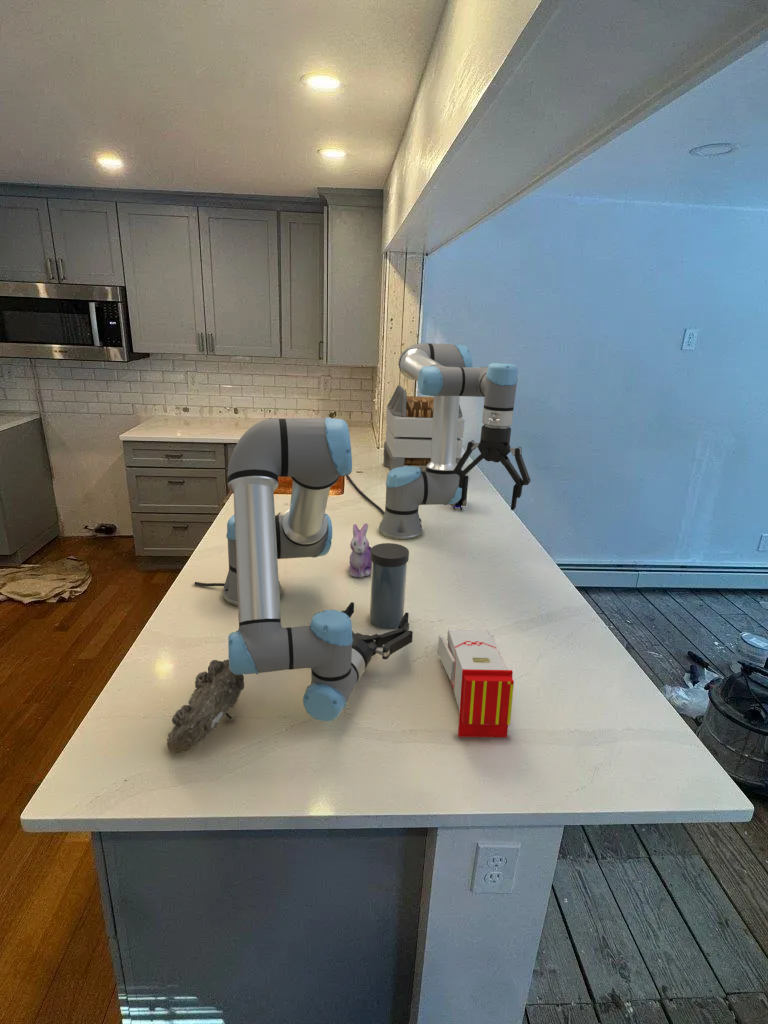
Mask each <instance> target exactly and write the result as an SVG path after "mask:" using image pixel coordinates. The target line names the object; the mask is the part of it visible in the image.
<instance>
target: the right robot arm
mask: <svg viewBox="0 0 768 1024" xmlns="http://www.w3.org/2000/svg"><path fill="white" fill-rule="evenodd" d="M398 368H399V371H400V373H401V374H402V375H403V376H404V377H405V378H407V379H408V380H410V381H411V380H412V381H416V382H417V388H418V392H419V394H421V396H427V397H434V408H433V427H432V446H431V461H430V462H429V463H428V464H427V465H426V466H425V470H424V471H422V469H421V467H420V466H407V465H404V466H402V467H397V468H394V469H392V470H390V469H389V470H388V473H387V475H386V480H385V504H384V505H385V507H384V508H385V509H384V510H383V509H382V507H380V506H379V505H378V504H377V503H375V502H374V501H373V500H371V498H369V497H368V496H367V495H366V494H365V493H364V492H363V491H362V490H361V489H360V488H359V487H358V486H357V485H356V483H355V482H354V481H353V480H352V478H351V477H350V476H349V475H345V477H346V478H347V479H348V481H349V482H350V484H351V485H352V486H353V487H354V489H355V490H356V491H357V492H358V493H359V494H360V495H361V496H362V497H363V498H364V499H365V500H367V502H369V504H371V506H373V507H375V509H377V510H378V511H379V512H380V513H381V514H382V519H381V522H379V526H378V533H379V534H380V535H381V536H382V537H385V538H387V539H389V540H395V541H410V540H415V539H418V538H420V537H421V536H422V535H423V525H422V524H421V523H422V518H420V515H419V507H420V506H433V505H434V506H436V505H440V506H441V505H444V506H447V505H450V504H455V503H457V502H458V501H459V500H460V499H461V501H465V500H466V499H467V500H468V488H469V475H468V473H470V471H472V470H473V469H474V468H475V467H476V466H477V465H478V464H479V463H480V462H481V461H483V460H485V462H494V463H501V464H502V466H504V468H505V470H506V471H507V473H508V474H509V475H510V477H511V479H512V480H513V482H514V483H515V484H514V485H513V487H512V495H511V503H510V511H514V510H515V509H516V507H517V502H518V499H520V498H521V496H522V494H523V486H529V485H530V483H531V477H530V474H529V472H528V469H527V467H526V463H525V461H524V458H523V455H522V454H523V451H522V447H521V446H517V447H514V446H513V447H512V446H511V444H510V443H511V436H512V435H511V434H512V428H511V426H512V425H513V418H514V411H515V410H514V409H515V408H514V407H515V400H516V393H517V386H518V385H517V384H518V381H519V379H518V377H519V376H518V375H519V368H518V366H517V365H516V364H514V363H505V362H491V363H490V364H488V366H478V367H474V366H473V359H472V354H471V352H470V349H469V348H468V347H467V346H466V345H465V344H458V343H429V342H421V343H416V344H412V345H410V346H408V347H406V348H405V349H404V350H403V351H402V352H401V354H400V356H399V358H398ZM461 397H473V398H474V397H475V398H476V397H480V398H484V399H483V410H482V420H481V423H482V424H483V425H482V426H481V427H480V428H481V430H480V437H479V440H480V441H479V442H476V441H475V440H473V439H471V440H470V441H468V442H467V445H466V450H465V451H464V453H463V455H461V459H460V461H459V462H458V464H456V446H457V431H458V415H459V405H460V398H461ZM476 449H477V450H478V451H479V453H480V454H479V455H478V456H477V457H476V458H475V459H474V460H472V461H471V462H470V463H469V464H468V465H467V466H466V467H465V468H464V469H463V467H464V465H465V464H466V463H467V460H468V459H469V458H470V456H471V454H472V453H473V451H475V450H476ZM510 453H511V454H512V457H514V460H515V463H516V465H517V468H518V471H519V472H518V471H517V469H516V468H515V467H514V464H513V463H512V462H511V459H510V457H509V456H508V455H509V454H510ZM519 473H520V474H519Z"/></svg>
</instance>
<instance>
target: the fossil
mask: <svg viewBox="0 0 768 1024" xmlns="http://www.w3.org/2000/svg"><path fill="white" fill-rule="evenodd" d="M194 684H195V685H194V687H195V689H194V690H193V693H192V694H191V697H190V698H189V700H188V704H184V705H182V706H181V707H180V709H177V710H176V711H175V713H174V715H173V716H172V718H171V723H172V724H173V727H172V730H171V731H170V732H168V734H167V738H166V741H167V742H166V745H167V749H168V750H169V751H173V752H174V753H176V754H178V753H182V752H188V751H189V752H192V751H193V750H195V748H196V747H197V746H199V744H200V743H201V742H203V741H204V740H205V739H206V738H207V737H208V736H209V735H210V734H211V733H212V732H214V730H215V729H217V727H218V726H219V724H220V722H221V721H222V720H223V719H224V718H225V716H226V717H227V719H229V720H233V717H232V715H230V714H229V710H230V709H231V708H234V706H235V704H236V703H237V702H238V699H239V697H240V695H241V693H242V691H243V690H245V689H244V688H245V675H244V674H242V675H235V674H233V673H232V672H231V670H230V668H229V658H228V659H227V658H226V659H224V660H223V661H222V660H217V659H212V660H211V661H210V663H209V665H208V666H207V671H201V672H199V673H198V674H197V675H196V676H195V680H194Z"/></svg>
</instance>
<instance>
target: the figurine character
mask: <svg viewBox="0 0 768 1024" xmlns="http://www.w3.org/2000/svg"><path fill="white" fill-rule="evenodd" d="M467 503H468V498H467V499H466V500H465V501H461V499H460V500H459V501H458V502H457V503H455V504H449V505H450V507H452V509H453V511H456V509H460V511H463V507H464V508H465V507H467Z"/></svg>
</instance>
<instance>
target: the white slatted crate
mask: <svg viewBox="0 0 768 1024" xmlns="http://www.w3.org/2000/svg"><path fill="white" fill-rule="evenodd" d="M407 394H408V393H407V390H406V389H404V388H403V387H402V385H399V384H398V385H397V386H396V388H395V390H394V392H393V394H392V395H391V398H390V400H389V402H388V404H387V405H386V413H385V414H386V415H385V423H386V428H385V438H384V442H383V466H384V467H388V468H389V471H390V470H392V469H394V468H397V467H402V466H411V467H412V466H416V467H426V465H427V464H428V463H429V462H430V461H431V446H432V427H433V408H434V396H415V395H414V396H413V395H412V396H411V395H407ZM464 429H465V419H464V418H463V411H462V408H461V405H460V404H459V415H458V431H457V446H456V464H458V462H459V461H460V459H461V458H462V453H463V442H464V441H463V440H462V439H463V438H464V431H465V430H464Z"/></svg>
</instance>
